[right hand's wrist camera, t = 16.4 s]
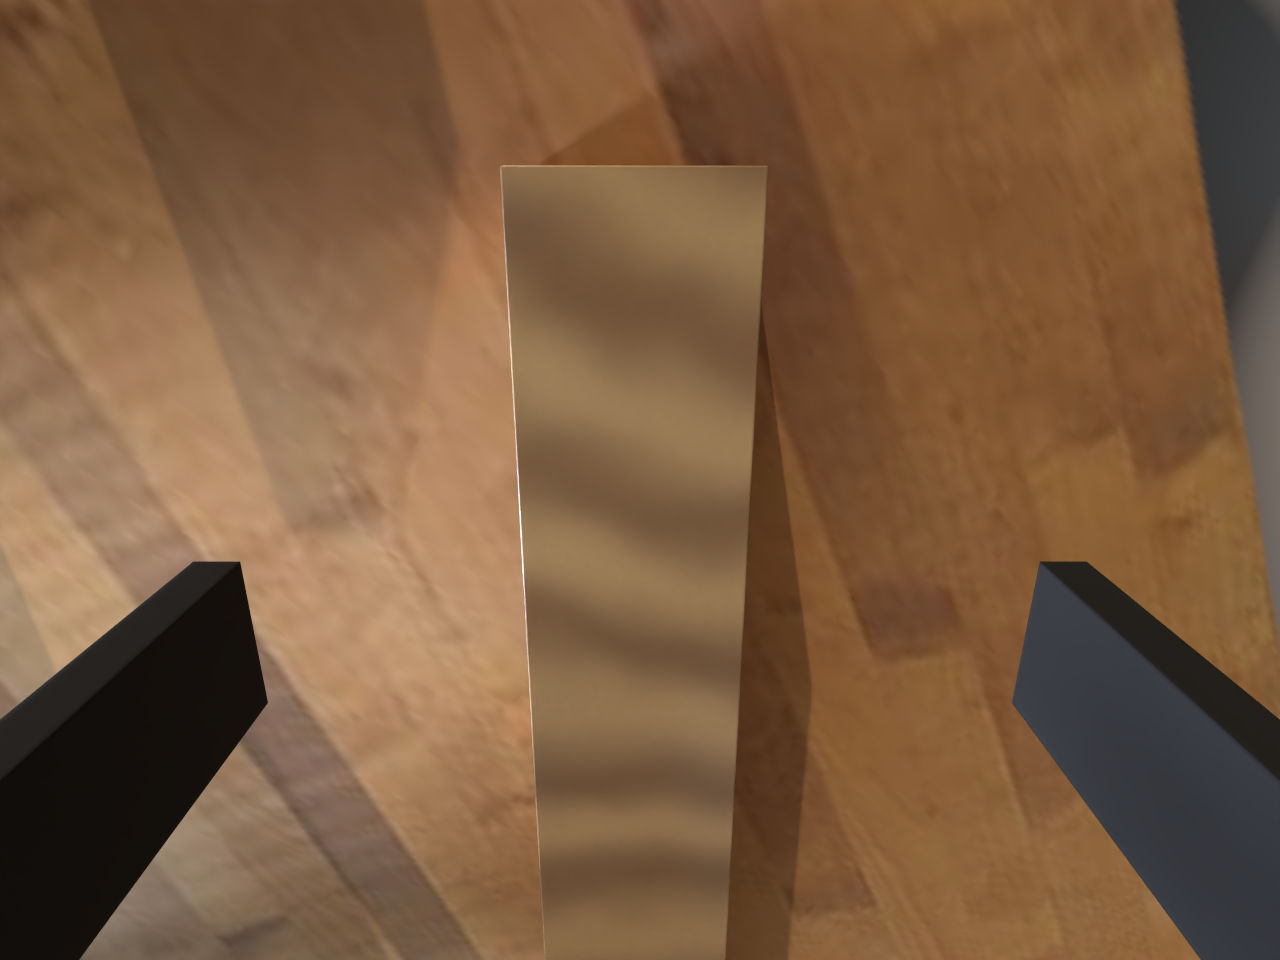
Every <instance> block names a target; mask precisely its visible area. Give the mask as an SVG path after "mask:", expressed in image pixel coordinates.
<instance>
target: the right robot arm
mask: <svg viewBox="0 0 1280 960" xmlns="http://www.w3.org/2000/svg"><path fill="white" fill-rule="evenodd" d="M267 703H268V701H267V696H266V691H265V686H264V681H263V676H262V671H261V665H260V660H259V655H258V650H257V645H256V640H255V635H254V630H253V625H252V620H251V615H250V610H249V604H248V599H247V594H246V589H245V584H244V579H243V574H242V569H241V564H240V562H192V563H191V564H190V565H189V566H188V567H186V568H185V569H184V570H183V571H181V572H180V573H179V574H178V575H177V576H175V577H174V578H173V579H172V580H170V581H169V582H168V583H167V584H166V585H164V586H163V587H162V588H161V589H159V590H158V591H157V592H156V593H155V594H153V595H152V596H151V597H150V598H148V599H147V600H146V601H145V602H144V603H142V604H141V605H140V606H139V607H137V608H136V609H135V610H134V611H133V612H131V613H130V614H129V615H128V616H126V617H125V618H124V619H123V620H121V621H120V622H119V623H118V624H117V625H115V626H114V627H113V628H112V629H110V630H109V631H108V632H107V633H106V634H104V635H103V636H102V637H101V638H99V639H98V640H97V641H96V642H95V643H93V644H92V645H91V646H90V647H88V648H87V649H86V650H85V651H84V652H82V653H81V654H80V655H79V656H77V657H76V658H75V659H74V660H73V661H71V662H70V663H69V664H68V665H66V666H65V667H64V668H63V669H62V670H60V671H59V672H58V673H57V674H55V675H54V676H53V677H52V678H51V679H49V680H48V681H47V682H46V683H44V684H43V685H42V686H41V687H40V688H38V689H37V690H36V691H35V692H33V693H32V694H31V695H30V696H29V697H27V698H26V699H25V700H24V701H22V702H21V703H20V704H19V705H18V706H16V707H15V708H14V709H13V710H11V711H10V712H9V713H8V714H7V715H5V716H4V717H3V718H2V719H0V960H79V959H80V958H81V956H82V955H83V954H84V952H85V951H86V950H87V948H88V947H89V945H90V944H91V943H92V941H93V940H94V939H95V937H96V936H97V935H98V933H99V932H100V931H101V929H102V928H103V926H104V925H105V924H106V922H107V921H108V920H109V918H110V917H111V916H112V914H113V913H114V911H115V910H116V909H117V907H118V906H119V905H120V903H121V902H122V901H123V899H124V898H125V897H126V895H127V894H128V892H129V891H130V890H131V888H132V887H133V886H134V884H135V883H136V882H137V880H138V879H139V877H140V876H141V875H142V873H143V872H144V871H145V869H146V868H147V867H148V865H149V864H150V863H151V861H152V860H153V858H154V857H155V856H156V854H157V853H158V852H159V850H160V849H161V848H162V846H163V845H164V843H165V842H166V841H167V839H168V838H169V837H170V835H171V834H172V833H173V831H174V830H175V828H176V827H177V826H178V824H179V823H180V822H181V820H182V819H183V818H184V816H185V815H186V814H187V812H188V811H189V809H190V808H191V807H192V805H193V804H194V803H195V801H196V800H197V799H198V797H199V796H200V794H201V793H202V792H203V790H204V789H205V788H206V786H207V785H208V784H209V782H210V781H211V780H212V778H213V777H214V775H215V774H216V773H217V771H218V770H219V769H220V767H221V766H222V765H223V763H224V762H225V760H226V759H227V758H228V756H229V755H230V754H231V752H232V751H233V750H234V748H235V747H236V745H237V744H238V743H239V741H240V740H241V739H242V737H243V736H244V735H245V733H246V732H247V731H248V729H249V728H250V726H251V725H252V724H253V722H254V721H255V720H256V718H257V717H258V716H259V714H260V713H261V711H262V710H263V709H264V707H265V706H266V705H267ZM1012 703H1013V705H1014V706H1015V707H1016V709H1017V710H1018V711H1019V713H1020V714H1021V716H1022V717H1023V718H1024V720H1025V721H1026V722H1027V724H1028V725H1029V726H1030V728H1031V729H1032V731H1033V732H1034V733H1035V735H1036V736H1037V737H1038V739H1039V740H1040V741H1041V743H1042V744H1043V746H1044V747H1045V748H1046V750H1047V751H1048V752H1049V754H1050V755H1051V756H1052V758H1053V759H1054V760H1055V762H1056V763H1057V765H1058V766H1059V767H1060V769H1061V770H1062V771H1063V773H1064V774H1065V775H1066V777H1067V778H1068V780H1069V781H1070V782H1071V784H1072V785H1073V786H1074V788H1075V789H1076V790H1077V792H1078V793H1079V794H1080V796H1081V797H1082V799H1083V800H1084V801H1085V803H1086V804H1087V805H1088V807H1089V808H1090V809H1091V811H1092V812H1093V814H1094V815H1095V816H1096V818H1097V819H1098V820H1099V822H1100V823H1101V824H1102V826H1103V827H1104V828H1105V830H1106V831H1107V833H1108V834H1109V835H1110V837H1111V838H1112V839H1113V841H1114V842H1115V843H1116V845H1117V846H1118V848H1119V849H1120V850H1121V852H1122V853H1123V854H1124V856H1125V857H1126V858H1127V860H1128V861H1129V863H1130V864H1131V865H1132V867H1133V868H1134V869H1135V871H1136V872H1137V873H1138V875H1139V876H1140V877H1141V879H1142V880H1143V882H1144V883H1145V884H1146V886H1147V887H1148V888H1149V890H1150V891H1151V892H1152V894H1153V895H1154V897H1155V898H1156V899H1157V901H1158V902H1159V903H1160V905H1161V906H1162V907H1163V909H1164V910H1165V911H1166V913H1167V914H1168V916H1169V917H1170V918H1171V920H1172V921H1173V922H1174V924H1175V925H1176V926H1177V928H1178V929H1179V931H1180V932H1181V933H1182V935H1183V936H1184V937H1185V939H1186V940H1187V941H1188V943H1189V944H1190V945H1191V947H1192V948H1193V950H1194V951H1195V952H1196V954H1197V955H1198V956H1199V958H1200V959H1201V960H1280V719H1278V718H1277V717H1276V716H1275V715H1273V714H1272V713H1271V712H1270V711H1269V710H1267V709H1266V708H1265V707H1264V706H1262V705H1261V704H1260V703H1259V702H1258V701H1256V700H1255V699H1254V698H1253V697H1251V696H1250V695H1249V694H1248V693H1247V692H1245V691H1244V690H1243V689H1242V688H1240V687H1239V686H1238V685H1237V684H1236V683H1234V682H1233V681H1232V680H1231V679H1229V678H1228V677H1227V676H1226V675H1225V674H1223V673H1222V672H1221V671H1220V670H1218V669H1217V668H1216V667H1215V666H1214V665H1212V664H1211V663H1210V662H1209V661H1207V660H1206V659H1205V658H1204V657H1203V656H1201V655H1200V654H1199V653H1198V652H1196V651H1195V650H1194V649H1193V648H1192V647H1190V646H1189V645H1188V644H1187V643H1185V642H1184V641H1183V640H1182V639H1181V638H1179V637H1178V636H1177V635H1176V634H1174V633H1173V632H1172V631H1171V630H1170V629H1168V628H1167V627H1166V626H1165V625H1163V624H1162V623H1161V622H1160V621H1159V620H1157V619H1156V618H1155V617H1154V616H1152V615H1151V614H1150V613H1149V612H1147V611H1146V610H1145V609H1144V608H1143V607H1141V606H1140V605H1139V604H1138V603H1136V602H1135V601H1134V600H1133V599H1132V598H1130V597H1129V596H1128V595H1127V594H1125V593H1124V592H1123V591H1122V590H1121V589H1119V588H1118V587H1117V586H1116V585H1114V584H1113V583H1112V582H1111V581H1110V580H1108V579H1107V578H1106V577H1105V576H1103V575H1102V574H1101V573H1100V572H1099V571H1097V570H1096V569H1095V568H1094V567H1092V566H1091V565H1090V564H1089V563H1088V562H1040V564H1039V569H1038V574H1037V579H1036V584H1035V589H1034V594H1033V599H1032V604H1031V610H1030V615H1029V620H1028V625H1027V630H1026V635H1025V640H1024V645H1023V650H1022V655H1021V660H1020V665H1019V671H1018V676H1017V681H1016V686H1015V691H1014V696H1013V701H1012Z"/></svg>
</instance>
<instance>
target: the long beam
mask: <svg viewBox="0 0 1280 960" xmlns="http://www.w3.org/2000/svg"><path fill="white" fill-rule="evenodd" d="M500 174H501V192H502V210H503V228H504V246H505V263H506V281H507V299H508V317H509V335H510V352H511V370H512V388H513V406H514V423H515V441H516V459H517V477H518V495H519V512H520V530H521V548H522V566H523V584H524V601H525V619H526V637H527V655H528V672H529V690H530V708H531V726H532V744H533V761H534V779H535V797H536V815H537V832H538V850H539V868H540V886H541V904H542V921H543V939H544V957H545V960H726V944H727V925H728V907H729V888H730V870H731V851H732V833H733V815H734V796H735V778H736V759H737V741H738V722H739V704H740V685H741V667H742V648H743V630H744V611H745V593H746V575H747V556H748V538H749V519H750V501H751V482H752V464H753V445H754V427H755V408H756V390H757V372H758V353H759V335H760V316H761V298H762V279H763V261H764V242H765V224H766V205H767V187H768V166H682V165H501V166H500Z"/></svg>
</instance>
